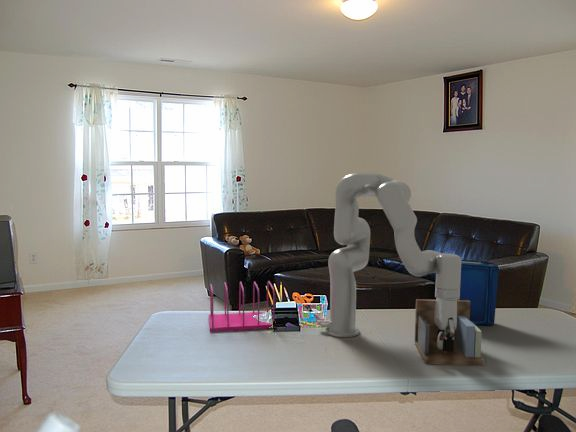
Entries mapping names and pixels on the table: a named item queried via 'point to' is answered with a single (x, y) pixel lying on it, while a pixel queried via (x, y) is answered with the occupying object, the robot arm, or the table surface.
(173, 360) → the table surface
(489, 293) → the book
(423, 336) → the bookend
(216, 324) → the file sorter
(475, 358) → the shelf
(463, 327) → the standing books
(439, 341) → the roller toy
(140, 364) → the table surface
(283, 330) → the table surface
